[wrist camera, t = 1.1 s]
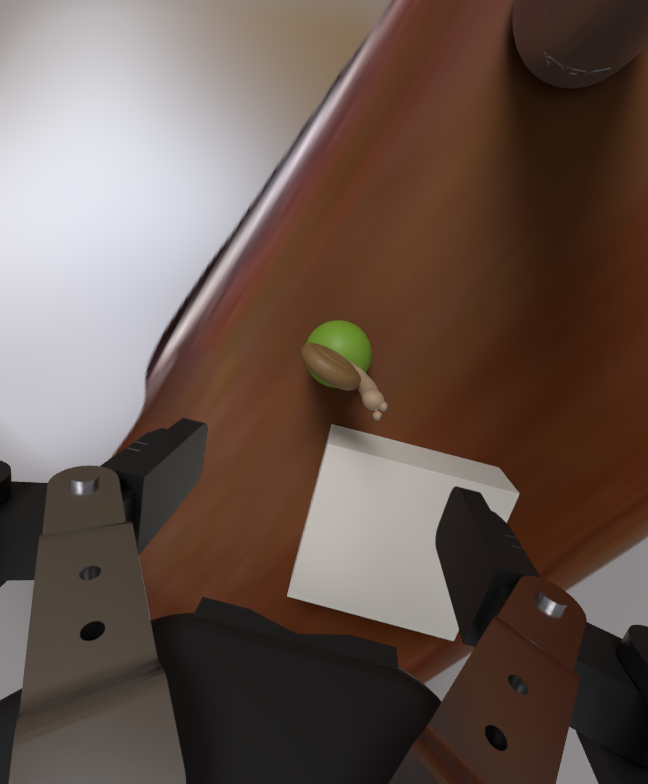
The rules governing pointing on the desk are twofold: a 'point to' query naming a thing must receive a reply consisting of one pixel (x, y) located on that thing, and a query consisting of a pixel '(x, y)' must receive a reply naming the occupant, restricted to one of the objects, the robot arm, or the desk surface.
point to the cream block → (386, 529)
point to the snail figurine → (343, 361)
